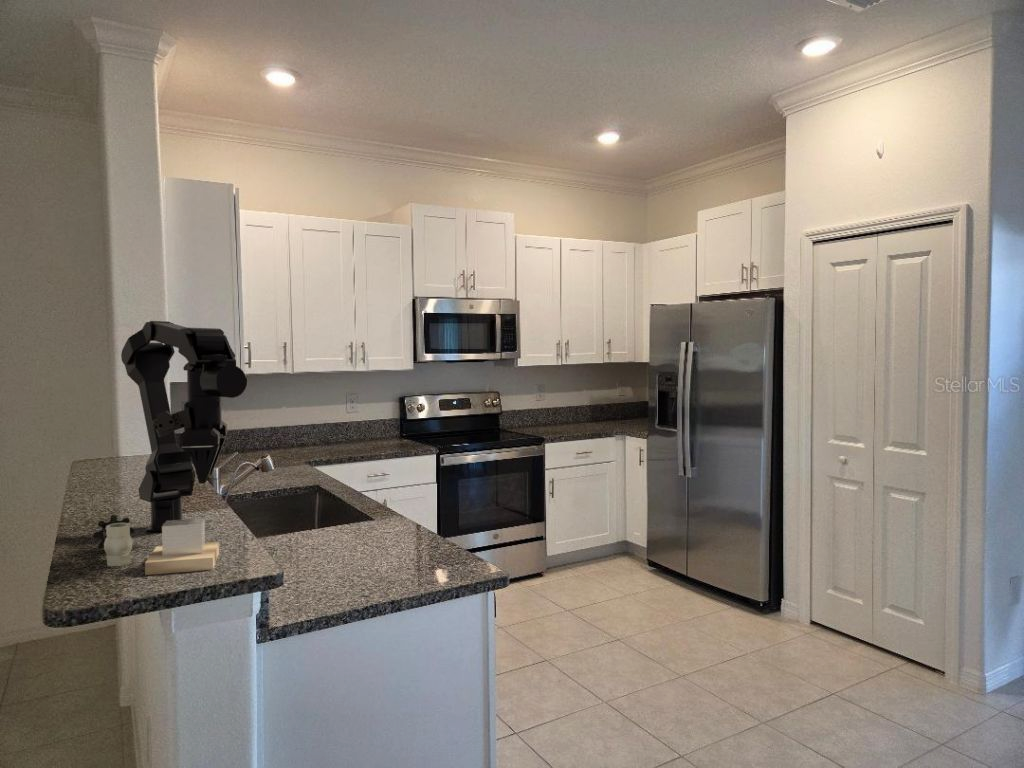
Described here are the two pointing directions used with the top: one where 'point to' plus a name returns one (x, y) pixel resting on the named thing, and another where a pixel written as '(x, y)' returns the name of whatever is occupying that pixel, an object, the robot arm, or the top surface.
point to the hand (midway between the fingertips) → (205, 478)
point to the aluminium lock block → (183, 537)
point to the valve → (115, 540)
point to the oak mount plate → (182, 561)
